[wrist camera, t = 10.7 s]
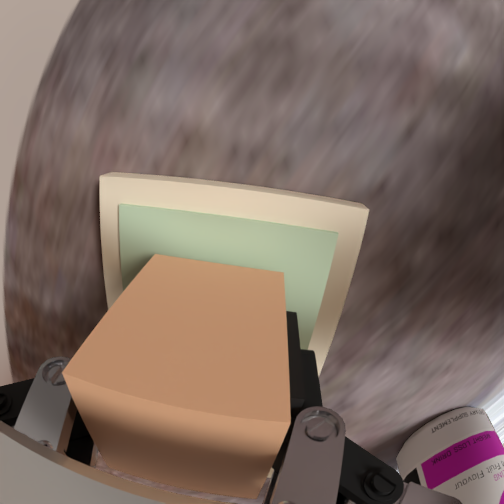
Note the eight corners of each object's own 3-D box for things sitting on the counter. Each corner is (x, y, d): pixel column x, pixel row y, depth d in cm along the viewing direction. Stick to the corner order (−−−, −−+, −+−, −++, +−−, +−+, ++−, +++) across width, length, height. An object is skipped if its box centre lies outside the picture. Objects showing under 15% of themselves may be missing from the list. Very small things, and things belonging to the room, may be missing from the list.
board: (112, 172, 11) (97, 176, 10) (361, 203, 11) (371, 211, 10) (146, 446, 19) (142, 457, 18) (274, 467, 19) (273, 479, 18)
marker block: (155, 253, 10) (61, 372, 5) (283, 272, 10) (291, 422, 5) (159, 349, 12) (108, 467, 7) (264, 367, 12) (256, 498, 6)
